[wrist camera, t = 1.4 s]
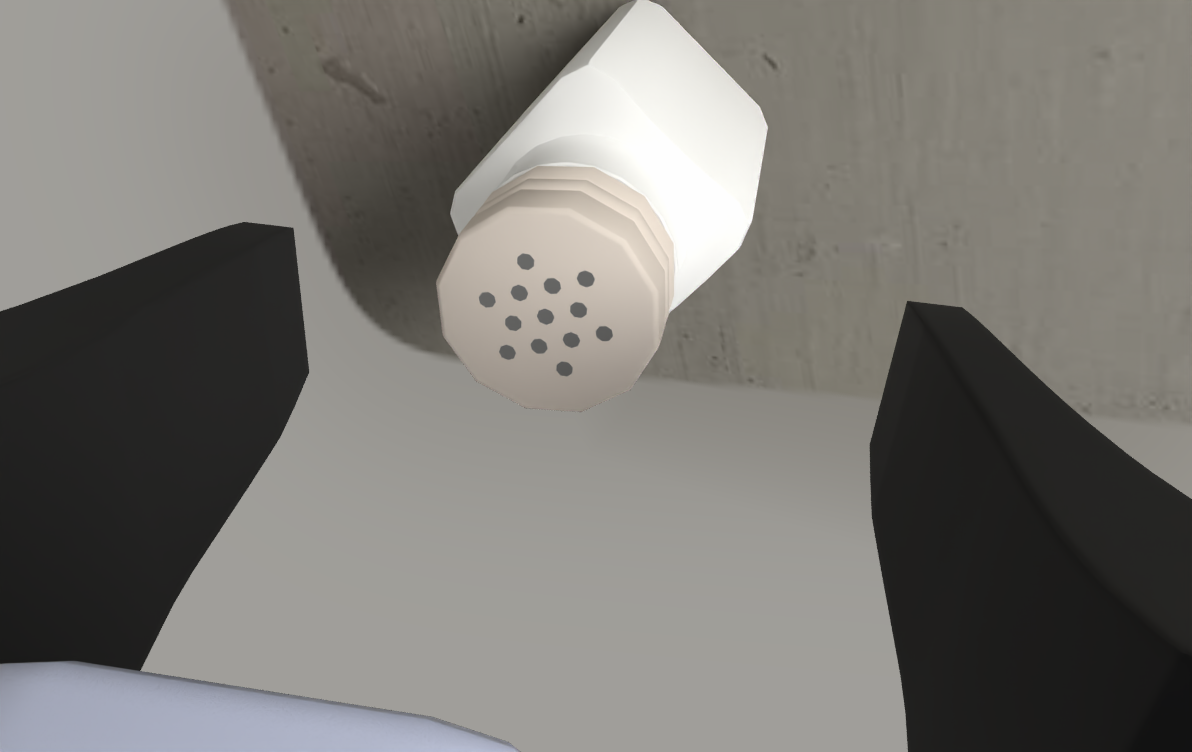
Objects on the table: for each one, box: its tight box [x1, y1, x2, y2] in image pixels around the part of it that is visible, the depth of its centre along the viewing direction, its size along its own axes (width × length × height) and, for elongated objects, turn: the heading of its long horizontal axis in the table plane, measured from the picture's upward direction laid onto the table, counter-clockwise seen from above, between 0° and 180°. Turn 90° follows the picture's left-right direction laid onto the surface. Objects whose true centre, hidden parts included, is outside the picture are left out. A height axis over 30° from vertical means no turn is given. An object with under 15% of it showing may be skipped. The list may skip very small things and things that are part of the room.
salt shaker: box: [436, 0, 768, 412], centre depth 18 cm, size 4×4×10 cm
